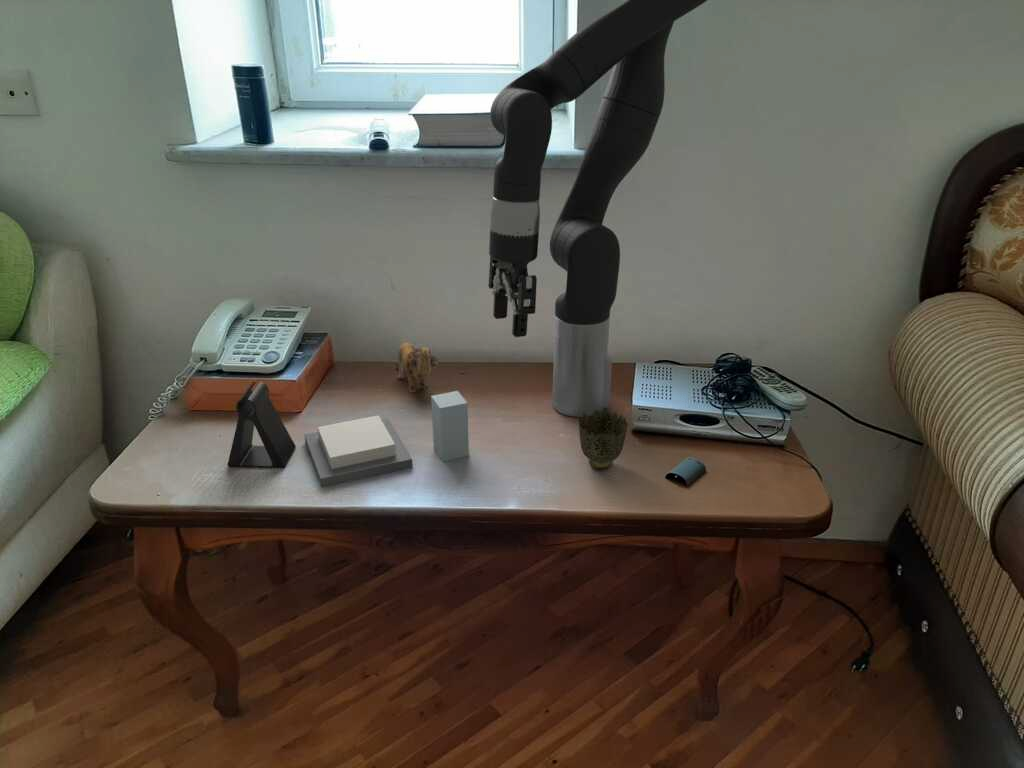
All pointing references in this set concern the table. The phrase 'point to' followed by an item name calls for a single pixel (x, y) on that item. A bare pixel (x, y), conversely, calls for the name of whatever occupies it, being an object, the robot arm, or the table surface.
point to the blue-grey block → (450, 425)
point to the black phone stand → (270, 429)
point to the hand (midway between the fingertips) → (509, 326)
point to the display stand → (356, 450)
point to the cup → (602, 437)
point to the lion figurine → (415, 364)
